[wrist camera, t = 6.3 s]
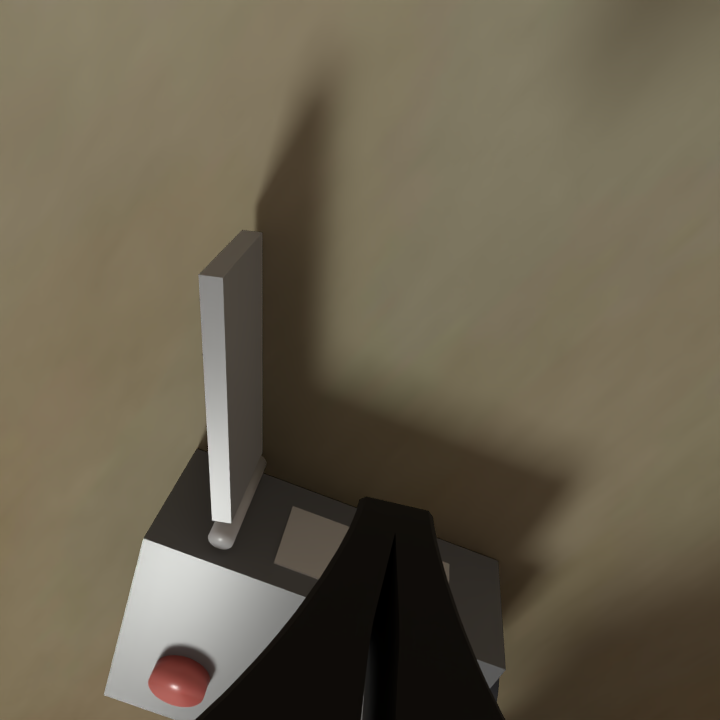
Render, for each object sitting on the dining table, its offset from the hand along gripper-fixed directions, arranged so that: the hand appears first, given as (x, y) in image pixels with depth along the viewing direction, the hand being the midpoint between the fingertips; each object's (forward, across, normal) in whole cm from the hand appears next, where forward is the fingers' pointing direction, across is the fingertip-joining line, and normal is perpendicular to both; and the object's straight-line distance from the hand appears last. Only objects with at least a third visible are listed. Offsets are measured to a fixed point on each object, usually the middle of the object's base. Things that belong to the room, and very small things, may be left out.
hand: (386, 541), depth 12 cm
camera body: (+9, +2, +12) cm, 15 cm away
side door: (+8, +5, +2) cm, 10 cm away
